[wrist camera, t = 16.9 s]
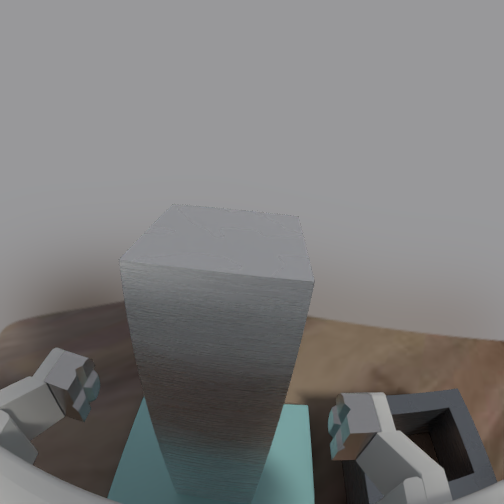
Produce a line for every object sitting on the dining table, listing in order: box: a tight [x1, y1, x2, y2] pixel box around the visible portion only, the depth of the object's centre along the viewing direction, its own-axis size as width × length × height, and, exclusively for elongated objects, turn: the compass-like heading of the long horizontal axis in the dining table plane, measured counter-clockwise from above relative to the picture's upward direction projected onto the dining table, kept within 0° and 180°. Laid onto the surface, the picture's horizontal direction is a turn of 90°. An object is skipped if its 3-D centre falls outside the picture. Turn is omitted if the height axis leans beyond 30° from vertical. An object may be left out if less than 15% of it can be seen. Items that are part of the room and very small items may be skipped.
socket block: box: [342, 389, 497, 504], centre depth 13 cm, size 9×9×3 cm
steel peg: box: [119, 204, 315, 503], centre depth 11 cm, size 4×4×14 cm
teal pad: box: [107, 397, 314, 504], centre depth 14 cm, size 11×11×1 cm
